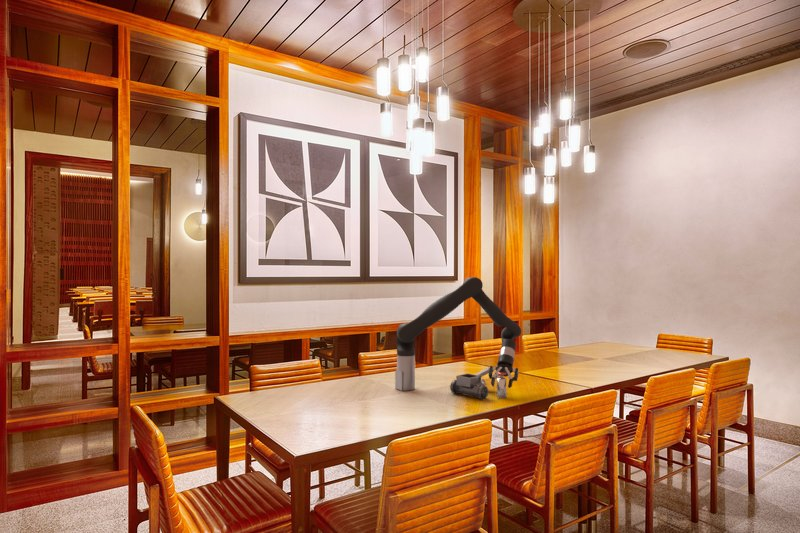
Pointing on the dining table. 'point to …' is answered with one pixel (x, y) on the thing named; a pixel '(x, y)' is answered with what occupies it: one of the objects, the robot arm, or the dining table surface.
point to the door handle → (483, 375)
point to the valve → (501, 385)
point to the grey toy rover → (469, 386)
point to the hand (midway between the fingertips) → (501, 386)
